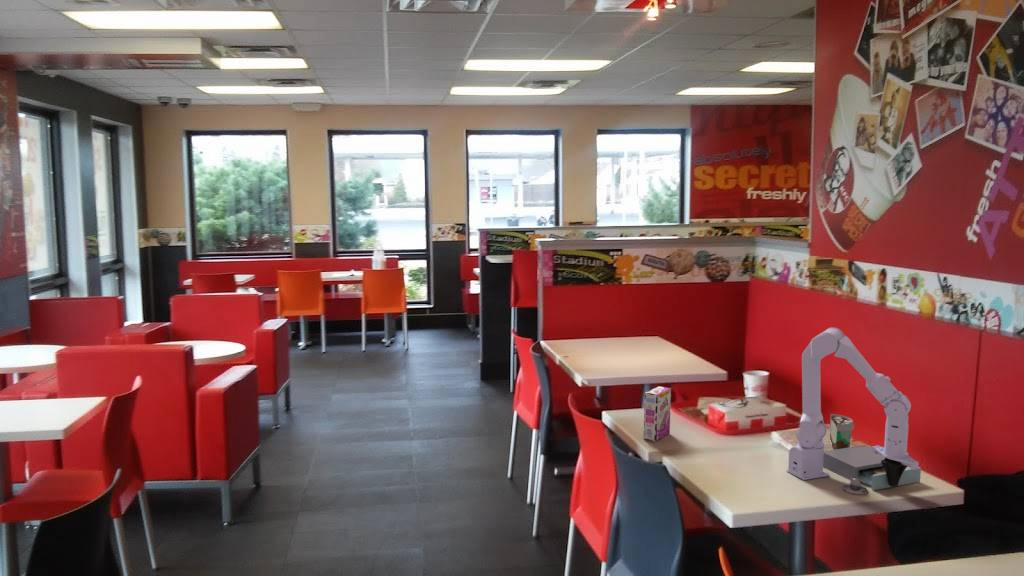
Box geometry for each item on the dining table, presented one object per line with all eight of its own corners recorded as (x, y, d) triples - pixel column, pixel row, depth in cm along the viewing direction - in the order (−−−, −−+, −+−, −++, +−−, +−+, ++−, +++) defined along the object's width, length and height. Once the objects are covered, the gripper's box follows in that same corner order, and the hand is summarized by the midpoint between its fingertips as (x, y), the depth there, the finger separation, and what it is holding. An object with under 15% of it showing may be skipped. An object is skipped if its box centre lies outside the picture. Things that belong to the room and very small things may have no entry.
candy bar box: (656, 442, 266) (657, 394, 264) (643, 439, 269) (643, 392, 267) (670, 433, 275) (671, 387, 273) (657, 431, 278) (658, 385, 276)
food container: (856, 456, 251) (858, 426, 250) (836, 455, 252) (837, 425, 251) (848, 443, 263) (850, 414, 262) (828, 442, 264) (830, 413, 263)
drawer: (920, 481, 230) (920, 467, 229) (873, 490, 224) (874, 475, 224) (883, 466, 242) (884, 452, 242) (839, 473, 237) (839, 460, 236)
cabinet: (900, 473, 237) (901, 459, 236) (854, 481, 231) (855, 467, 230) (864, 458, 250) (865, 444, 249) (820, 465, 244) (821, 451, 243)
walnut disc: (883, 482, 228) (884, 476, 228) (869, 475, 233) (869, 470, 233) (898, 479, 230) (898, 474, 230) (884, 472, 235) (884, 467, 235)
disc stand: (854, 496, 221) (855, 484, 220) (837, 487, 227) (838, 476, 226) (872, 493, 223) (873, 481, 222) (855, 484, 229) (856, 473, 228)
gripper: (928, 445, 217) (925, 492, 219) (887, 429, 231) (884, 474, 233) (908, 448, 215) (905, 496, 217) (867, 432, 228) (865, 477, 230)
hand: (893, 485), depth 224 cm, fingers closed
